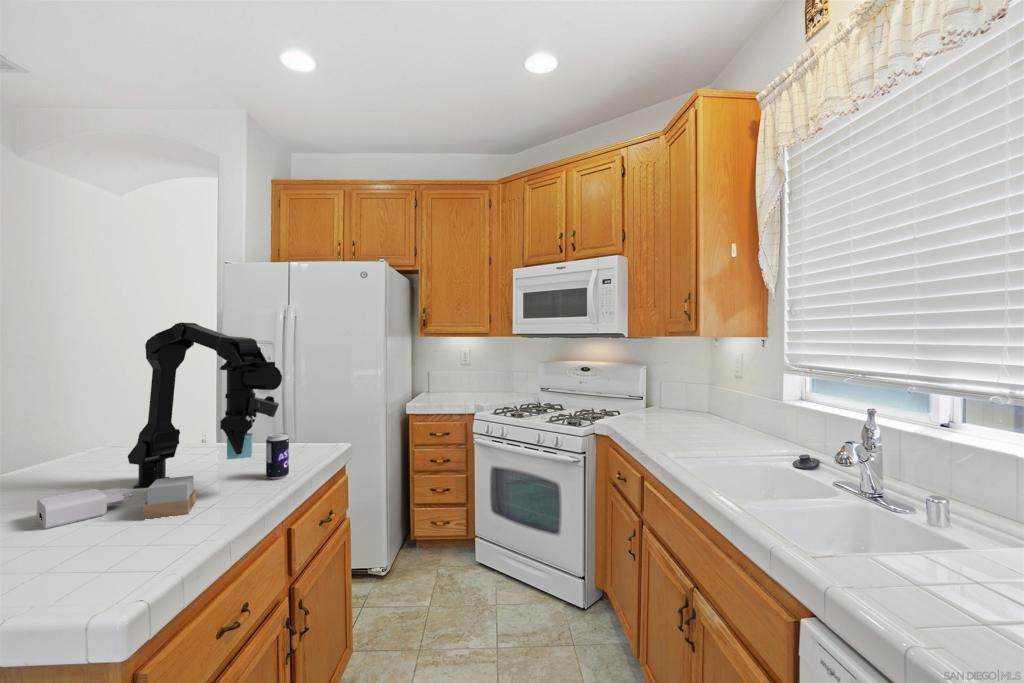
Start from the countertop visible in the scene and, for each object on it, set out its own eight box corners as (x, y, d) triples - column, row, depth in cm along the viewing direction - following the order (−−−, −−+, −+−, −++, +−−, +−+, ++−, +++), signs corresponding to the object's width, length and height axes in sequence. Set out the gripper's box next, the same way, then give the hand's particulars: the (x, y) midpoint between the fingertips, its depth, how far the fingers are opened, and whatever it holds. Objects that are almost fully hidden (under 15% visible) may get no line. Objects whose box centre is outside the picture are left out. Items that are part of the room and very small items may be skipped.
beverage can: (279, 481, 124) (279, 437, 124) (261, 479, 125) (261, 436, 125) (293, 475, 130) (293, 433, 130) (275, 473, 131) (276, 432, 131)
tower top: (156, 494, 104) (156, 479, 104) (193, 490, 107) (193, 475, 107) (147, 504, 97) (147, 488, 97) (187, 499, 100) (187, 484, 100)
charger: (138, 508, 104) (45, 531, 92) (125, 500, 109) (36, 520, 97) (138, 488, 104) (45, 507, 92) (125, 480, 109) (36, 498, 97)
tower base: (153, 509, 104) (153, 494, 104) (195, 504, 107) (195, 489, 107) (142, 521, 97) (143, 505, 97) (188, 515, 100) (188, 500, 100)
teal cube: (229, 454, 113) (229, 434, 113) (252, 452, 116) (252, 433, 116) (226, 459, 109) (227, 438, 109) (250, 457, 111) (250, 436, 111)
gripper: (275, 390, 107) (275, 456, 107) (277, 384, 124) (277, 441, 124) (220, 393, 102) (219, 462, 102) (230, 385, 119) (229, 445, 119)
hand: (239, 451), depth 112 cm, fingers closed on teal cube, 5 cm apart
